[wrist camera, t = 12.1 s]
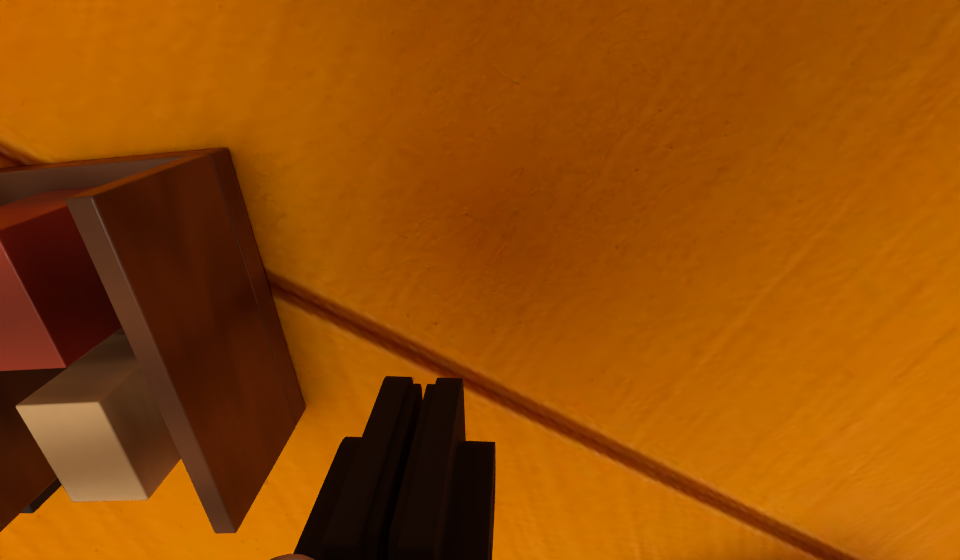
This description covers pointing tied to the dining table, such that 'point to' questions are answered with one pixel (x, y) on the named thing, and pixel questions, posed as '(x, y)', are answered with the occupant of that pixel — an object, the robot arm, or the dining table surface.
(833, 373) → the dining table surface
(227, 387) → the open wooden box
